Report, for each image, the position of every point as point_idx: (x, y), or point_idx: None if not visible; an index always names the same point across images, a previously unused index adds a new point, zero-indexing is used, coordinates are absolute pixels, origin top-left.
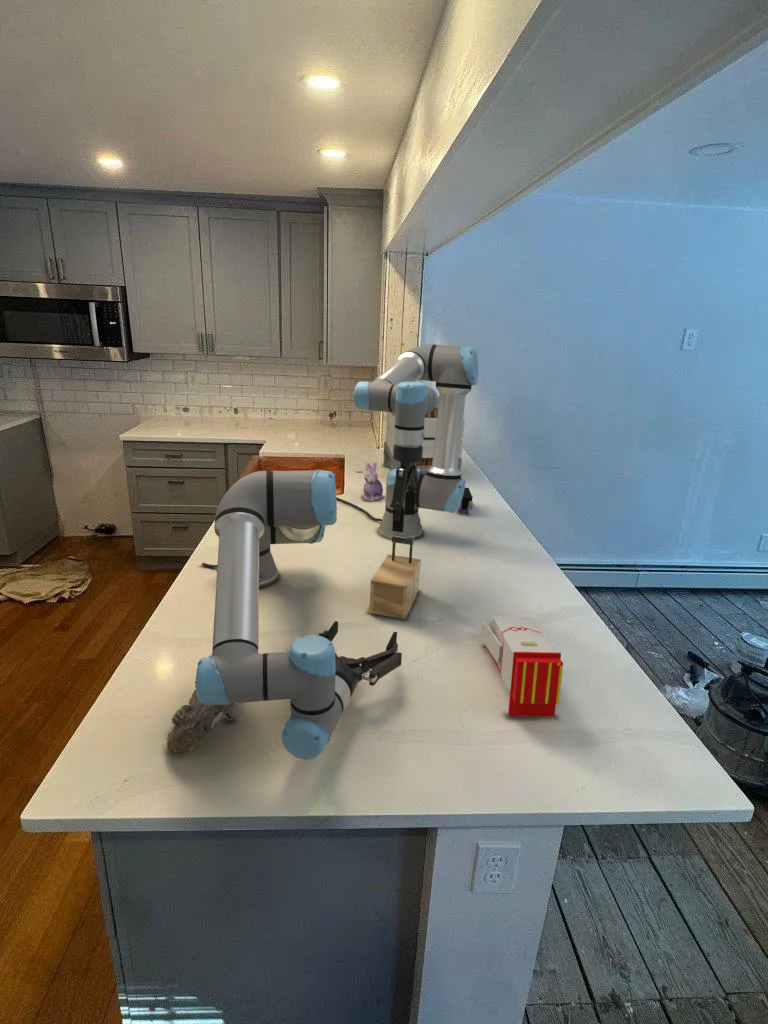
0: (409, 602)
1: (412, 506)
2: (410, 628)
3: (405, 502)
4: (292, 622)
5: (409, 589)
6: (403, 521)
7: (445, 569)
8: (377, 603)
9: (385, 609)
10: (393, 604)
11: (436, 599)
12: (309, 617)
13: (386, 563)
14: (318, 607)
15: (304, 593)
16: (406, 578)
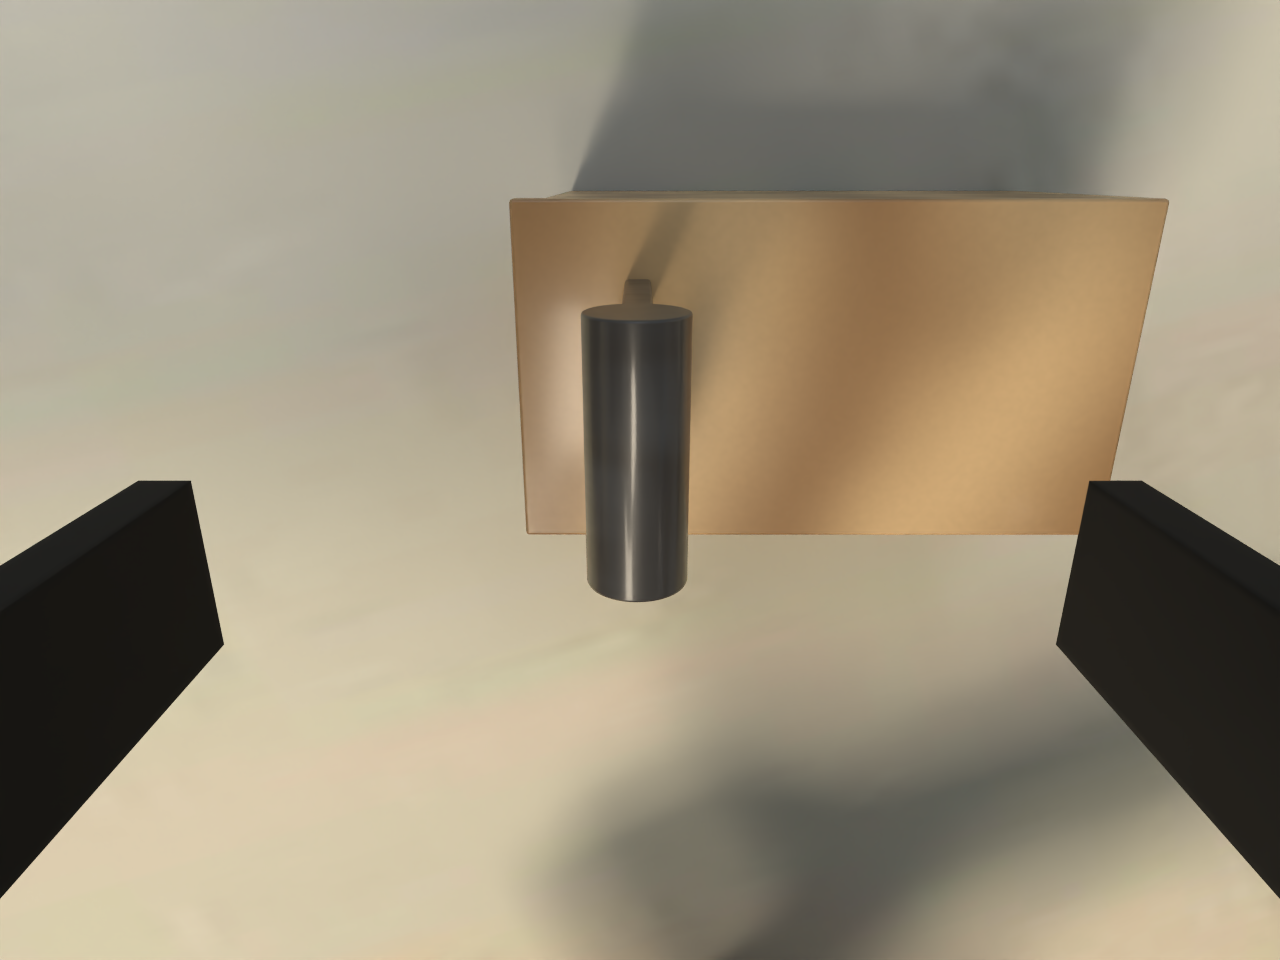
0: (924, 192)
1: (94, 597)
2: (1127, 125)
3: (84, 791)
4: (1150, 774)
5: (1016, 196)
6: (1235, 568)
7: (79, 39)
8: None
9: None
10: None
11: (652, 14)
12: (1086, 721)
13: (731, 499)
14: (969, 716)
15: (831, 825)
16: (1004, 246)
